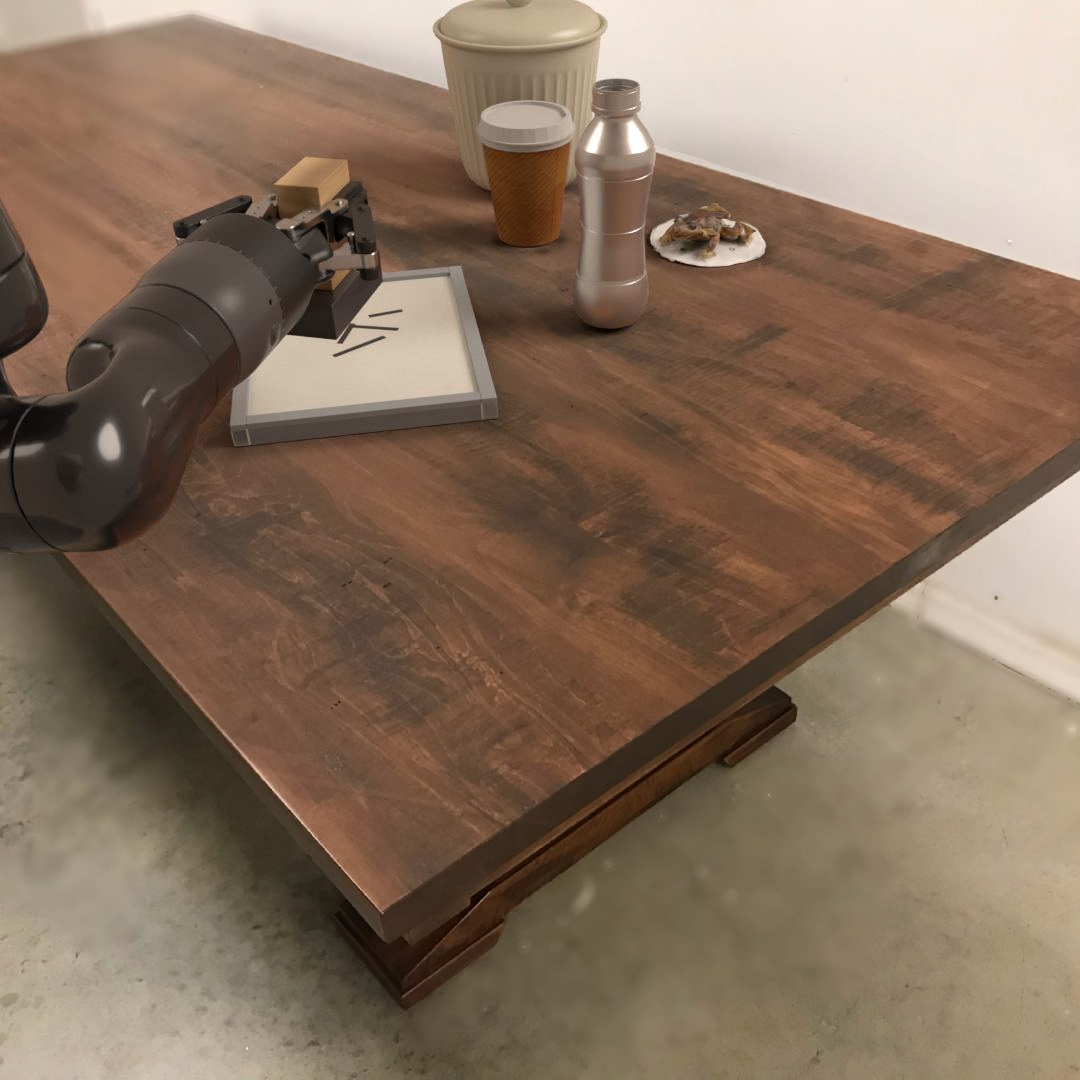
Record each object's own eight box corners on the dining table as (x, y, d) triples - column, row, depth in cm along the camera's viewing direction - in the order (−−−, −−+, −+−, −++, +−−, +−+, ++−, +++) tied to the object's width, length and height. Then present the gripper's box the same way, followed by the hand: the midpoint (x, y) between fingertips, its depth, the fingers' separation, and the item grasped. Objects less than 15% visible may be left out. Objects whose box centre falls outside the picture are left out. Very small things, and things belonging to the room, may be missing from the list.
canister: (427, 163, 129) (411, -36, 115) (573, 144, 133) (573, -51, 120) (468, 221, 115) (454, 2, 102) (629, 197, 119) (635, -16, 106)
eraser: (275, 334, 73) (249, 194, 67) (326, 276, 80) (306, 145, 74) (336, 340, 72) (316, 200, 67) (383, 281, 79) (368, 149, 73)
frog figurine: (723, 279, 103) (726, 241, 101) (623, 245, 109) (624, 208, 107) (790, 241, 110) (794, 203, 107) (692, 211, 116) (694, 175, 114)
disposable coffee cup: (558, 259, 107) (557, 134, 100) (468, 247, 110) (460, 125, 102) (587, 221, 114) (588, 103, 107) (501, 211, 117) (496, 95, 109)
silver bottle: (560, 312, 98) (558, 79, 86) (627, 298, 100) (635, 68, 88) (591, 344, 94) (594, 103, 81) (661, 328, 96) (674, 90, 83)
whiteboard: (234, 447, 82) (229, 425, 81) (246, 304, 101) (242, 285, 100) (498, 418, 85) (496, 397, 84) (462, 284, 103) (460, 265, 102)
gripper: (326, 254, 57) (428, 143, 71) (85, 233, 60) (227, 130, 73) (344, 379, 62) (437, 253, 75) (120, 354, 65) (247, 237, 78)
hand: (332, 193), depth 74 cm, fingers closed on eraser, 3 cm apart
